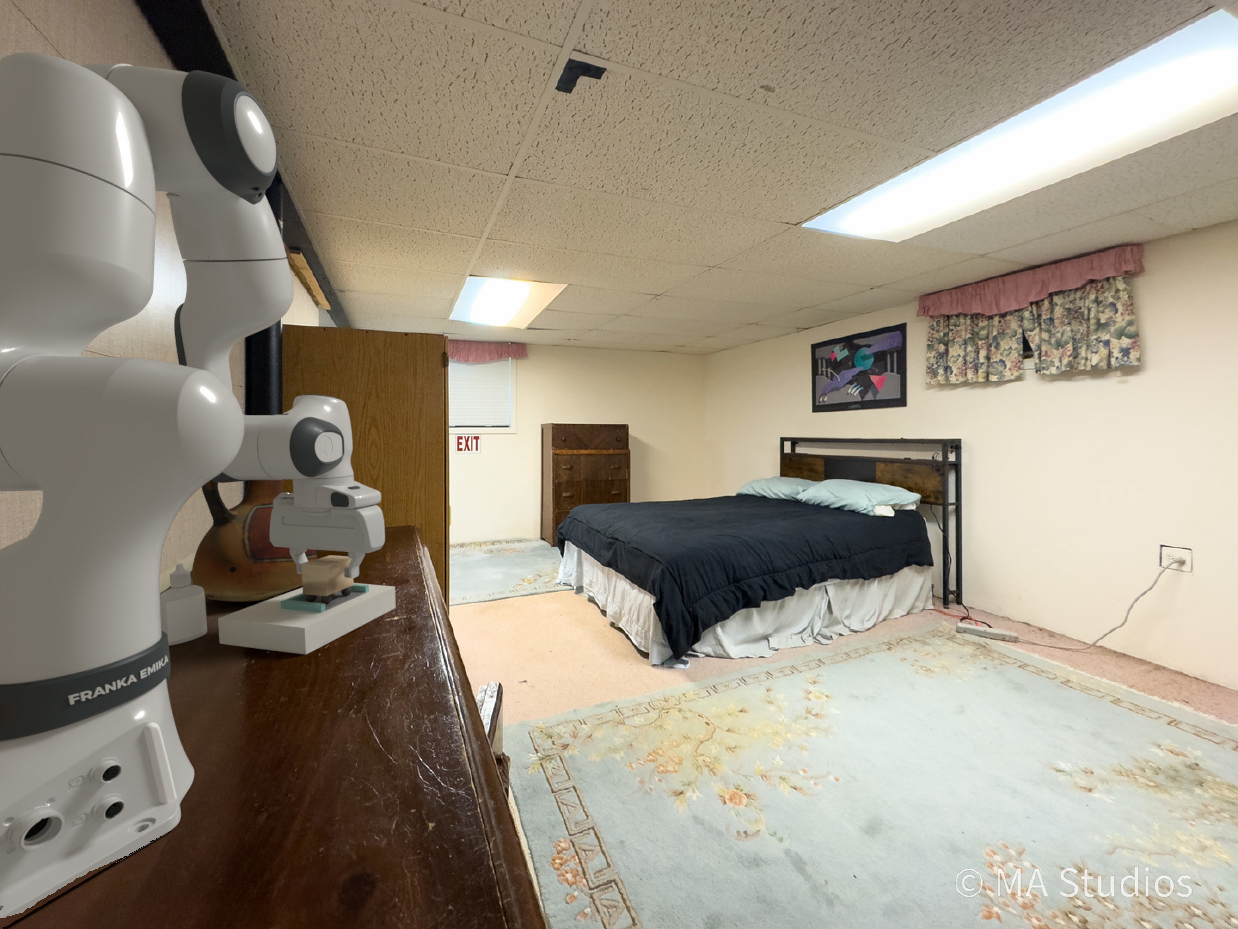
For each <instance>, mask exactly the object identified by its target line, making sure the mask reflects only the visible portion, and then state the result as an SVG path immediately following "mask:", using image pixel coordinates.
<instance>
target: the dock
mask: <svg viewBox="0 0 1238 929" xmlns="http://www.w3.org/2000/svg"><path fill="white" fill-rule="evenodd" d="M353 583H354V585H353V586H350V588H351V589H352V591H351V593H350V594H349V595H347V596H345V595H343V594H342V593H341V591H338V592H336V593H334V594H331V597H332V600H331V602H330V603H328V604H324V603H322V602H321V597H322V596H318V595H316V596H317V598H316V600H315V601H314V602H307V601H306V599H305V598H306V595H307V594H303V586H301V587H300V588H299V587H298V589H297V588H296V589H295V590H294V589H293V590H292V591H291V590H290V591H289V592H288V591H287V592H286V593H284V594H283V593H282V594H281V595H280V594H279V595H277V596H274V597H273V598H272V597H271V598H268V599H266V600H263V601H261V602H257V603H256V604H253V605H250V606H247V607H245V608H241V609H240V610H237V611H234V612H231V613H229V614H226V615H223V616H219V617H217V621H218V637H219V638H218V639H219V644H221V645H227V646H236V647H243V648H253V649H259V650H268V651H275V652H276V651H277V652H281V653H282V652H283V653H291V654H299V655H308V654H309V653H312V652H313V651H315V650H317V649H319V648H321V647H323V646H325V645H328V644H329V643H331V642H333V641H335V640H336V639H339V638H340V637H342V636H345V635H346V634H348V633H350V632H352V631H354V630H356V629H357V628H360V627H362V626H363V625H366V624H367V623H369V622H371V621H374V620H376V619H377V618H379V617H380V616H383V615H385V614H387V613H389V612H390V611H392V610H394V609H396V605H397V604H396V586H393V585H392V586H391V585H379V584H369V583H358V582H353Z"/></svg>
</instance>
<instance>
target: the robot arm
mask: <svg viewBox="0 0 1238 929" xmlns="http://www.w3.org/2000/svg"><path fill="white" fill-rule="evenodd" d="M274 133H275V132H274V129H273V127H272V124H271V122H270V119H269V118H268V116H267V113H266V111H265V110H264V108H263V106H262V105H261V104H260V103H259V101H258V100H257V99H256V98H255V97H254V96H253V94H251V92H250V91H248V89H247V88H246V87H245V86H244V85H243V84H242V83H240V82H239V81H237V80H234V79H232V78H229V77H226V76H224V75H220V74H216V73H212V72H207V71H203V70H200V69H199V70H198V69H197V70H191V71H189V72H186V71H183V70H175V69H167V68H163V67H161V68H160V67H151V66H143V65H139V66H138V65H133V64H128V63H120V62H118V63H116V62H115V63H111V62H109V63H87V64H86V63H85V64H84V63H83V64H78V63H76V62H73V61H71V60H69V59H65V58H62V57H59V56H55V55H51V54H47V53H41V52H31V51H30V52H27V51H25V52H15V53H11V54H9V55H6V56H3V57H2V58H0V492H29V491H31V492H34V491H35V492H36V491H38V492H39V491H40V492H41V491H42V504H41V508H40V509H41V510H40V514H39V517H38V519H37V521H36V523H35V525H34V527H33V528H32V529H31V531H30V533H29V534H28V535H27V536H26V537H24V538H22V539H19V540H17V541H15V542H13V543H11V544H8V545H7V546H4V547H2V548H1V549H0V909H1V910H0V918H6V917H7V916H12V915H15V914H19V913H23V912H24V911H25V910H26V909H27V908H31V907H32V906H34V905H35V904H36V903H37V902H38V901H40V900H42V899H44V898H46V897H47V896H48V895H51V894H53V893H55V892H56V891H57V890H58V889H61V888H62V887H64V886H66V885H67V884H68V883H71V882H73V881H74V880H75V879H76V878H79V877H82V876H84V875H86V874H87V873H88V872H89V871H93V870H95V869H98V868H99V867H102V866H104V865H107V864H109V863H110V862H113V861H115V860H117V859H120V858H123V857H124V856H127V857H129V856H130V855H131V854H130V853H132V852H133V853H135V852H137V851H139V850H140V849H142V848H144V847H145V846H147V845H149V844H151V842H150V841H152V840H154V841H155V840H157V839H160V838H161V837H163V836H164V835H166V834H167V833H168V832H170V831H172V830H173V829H174V828H176V827H177V826H178V824H179V823H180V821H181V817H182V812H181V811H182V810H181V803H182V800H183V799H184V798H185V796H186V795H187V792H188V791H189V789H190V788H191V786H192V784H193V782H194V778H195V769H194V767H193V765H192V763H191V761H190V760H189V758H188V756H187V753H186V752H185V750H184V746H183V745H182V742H181V739H180V736H179V734H178V729H177V726H176V723H175V718H174V715H173V711H172V706H171V700H170V694H169V690H168V684H169V679H170V675H171V671H172V670H171V669H172V668H171V656H170V655H171V654H170V646H169V645H168V636H167V634H166V633H165V632H164V631H161V616H160V594H161V562H162V553H163V548H164V546H165V542H166V539H167V536H168V534H169V531H170V529H171V526H172V524H173V523H174V521H175V519H176V517H177V516H178V514H179V512H180V511H181V509H182V508H183V507H184V505H186V504H187V502H188V501H189V499H190V498H191V497H193V495H194V494H195V493H196V492H197V491H199V490H200V489H202V486H203V485H204V484H206V483H207V482H208V481H210V480H212V481H214V482H218V484H219V483H220V484H226V483H239V482H246V481H248V480H282V479H286V480H292V490H293V491H292V492H286V491H285V492H284V491H283V492H282V493H280V494H279V495H278V496H277V497H276V498H275V499H274V500H273V510H272V513H271V520H270V541H271V543H272V544H273V546H274V547H285V548H290V555H291V557H292V558H293V560H294V562H295V563H296V564H297V573H298V574H302V564H304V563H307V562H308V560H307V557H306V555H305V553H304V552H306V551H307V549H315V550H316V551H331V552H332V551H333V552H334V551H335V552H344V553H345V552H347V554H348V555H347V557H349V558H352V559H351V561H350V564H349V566H348V567H345V568H344V573H345V574H344V577H345V578H353V579H355V578H358V577H359V576H360V565H361V563H362V562H363V560H364V558H365V555H366V554H369V553H373V552H376V551H379V550H381V549H382V548H383V546H384V545H385V541H386V533H385V532H386V530H385V529H386V527H385V519H384V514H383V510H382V509H381V507H380V506H379V505H377V504H380V503H381V501H382V493H381V492H380V491H379V490H377V489H375V488H372V487H369V486H367V485H365V484H362V483H360V482H359V481H356V480H355V478H354V477H355V476H354V470H353V467H352V463H351V461H352V460H351V459H352V458H351V457H352V453H353V448H354V446H353V433H352V425H351V423H352V422H351V418H350V413H349V409H348V407H347V404H346V402H345V401H344V400H342V399H340V398H338V397H336V396H331V395H326V394H324V395H323V394H316V393H306V394H301V395H297V396H296V397H295V398H294V399H293V403H292V407H291V408H290V410H287V411H286V412H283V413H282V414H273V415H269V414H267V415H265V414H264V415H263V414H262V415H259V414H257V415H252V414H251V415H249V414H248V415H247V414H244V413H243V410H242V407H241V405H240V403H239V400H238V399H237V397H236V396H235V395H234V392H233V383H232V376H231V374H232V373H231V368H230V354H231V352H232V349H233V347H234V346H235V345H236V344H237V343H238V342H239V341H241V340H243V339H245V338H246V337H249V336H251V335H254V334H256V333H259V332H260V331H263V330H265V329H268V328H270V327H272V326H273V325H275V324H277V323H278V322H279V321H281V319H283V317H284V316H286V314H287V313H288V311H289V310H290V307H291V306H292V303H293V302H294V283H293V278H292V276H293V275H292V271H291V267H290V264H289V260H288V258H287V252H286V250H285V245H284V242H283V239H282V235H281V232H280V228H279V226H278V223H277V220H276V217H275V215H274V213H273V212H274V211H273V210H272V208H271V205H270V203H269V200H268V198H267V196H266V191H267V189H269V188H270V186H271V185H272V182H273V180H274V179H275V176H276V173H277V171H278V165H279V152H278V144H277V139H276V136H275V134H274ZM157 192H166V193H165V196H166V198H167V199H168V201H169V207H170V214H171V220H172V224H173V230H174V234H175V238H176V242H177V246H178V250H179V253H180V256H181V260H182V263H183V266H184V270H185V277H186V279H185V280H186V294H185V298H184V302H182V303H181V304H179V306H177V309H176V311H175V314H174V318H173V320H174V321H173V329H174V330H173V331H174V340H175V348H176V354H177V362H178V364H177V363H173V362H167V361H161V360H156V359H150V358H144V357H143V358H142V357H114V356H113V357H112V356H111V357H109V356H82V355H83V353H84V352H85V350H86V349H87V347H88V346H89V345H90V344H91V343H92V342H93V341H94V340H95V339H96V338H97V337H98V336H99V335H100V334H101V333H103V332H104V331H106V330H108V329H110V328H111V327H113V326H116V325H118V324H120V323H123V322H125V321H127V320H130V319H131V318H134V317H135V316H137V315H138V314H140V313H141V312H142V311H143V310H144V309H145V308H146V307H147V305H148V304H149V302H150V300H151V298H152V295H153V292H154V283H155V282H154V280H155V254H156V227H157V226H156V225H157V194H156V193H157ZM279 497H280V498H279ZM160 836H161V837H160ZM156 838H157V839H156ZM152 842H153V841H152ZM143 846H144V847H143ZM141 847H142V848H141ZM139 848H140V849H139ZM138 849H139V850H138ZM136 850H137V851H136ZM134 851H135V852H134ZM133 853H132V854H133ZM129 854H130V855H129ZM123 859H124V858H123Z"/></svg>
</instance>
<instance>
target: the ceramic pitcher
mask: <svg viewBox="0 0 1238 929" xmlns="http://www.w3.org/2000/svg"><path fill="white" fill-rule="evenodd" d="M286 481H287V479H282V480H248V482H247V488H246V491H245V494H244V496H243V498H242V500H241V501H240V503H238V504H236V505H235V506H233V507H231V508H229V509H228V507H226V506H227V505H226V504H225V503H224V500H223V499H222V497H221V493H220V491H219V483H218V482H214V481H212V480H210V481H208V482H207V483H206V484H204V485H203V486H202V487H201V491H202V493H203V497H204V499H205V502H206V504H207V507H208V511H209V513H210V515H211V518H212V521H213V522H212V525H211V527H210V528H209V529H208V531H206V533H205V535H204V536H203V538H202V539H201V541H200V543H199V545H198V547H197V549H196V551H195V554H194V557H193V558H194V559H193V563H192V567H191V583H192V585H197V586H200V587H202V588H203V589H204V592H205V598H208V599H209V600H215V601H222V602H223V601H224V602H235V603H237V602H239V603H240V602H241V603H242V602H259V601H266V600H269V599H271V598H272V597H273V598H274V597H278V596H280V595H282V594H283V593H285V592H288V591H291V590H294V589H297V588H299V587H303V585H302V574H298V573H297V564H296V563H295V562H294V560H293V558H292V557H291V555H290V548H285V547H274V546H273V544H272V543H271V541H270V520H271V513H272V510H273V500H274V499H275V498H276V497H277V496H278V495H279V494H280V493H282V492H284V485H285V483H286ZM279 498H280V497H279ZM317 551H318V550H315V549H307V551H306V552H304V553H305V555H306V557H307V560H308V562H310V561H313V560H317V559H318V555H317V554H318V552H317Z"/></svg>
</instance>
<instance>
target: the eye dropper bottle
mask: <svg viewBox="0 0 1238 929" xmlns="http://www.w3.org/2000/svg"><path fill="white" fill-rule="evenodd" d="M175 566H176V567H175V570H174V571H173V572H171V573H170V574H169V581H170V588H168V589H167V590H164V591H163V592H162V593H160V616H161V631H164V632H165V633H166V634H167V636H168V645H169V647H171V646H175V645H179V644H184V643H188V642H190V641H194V640H196V639H198V638H201V637H204V636H205V635H206V634H207V633H208V623H207V622H208V621H207V605H206V596H205V592H204V589H203V588H202V587H200V586H197V585H193V584H192V574H191V571H190V570H187V569H185V567H184V564H183V563H176V565H175Z"/></svg>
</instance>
